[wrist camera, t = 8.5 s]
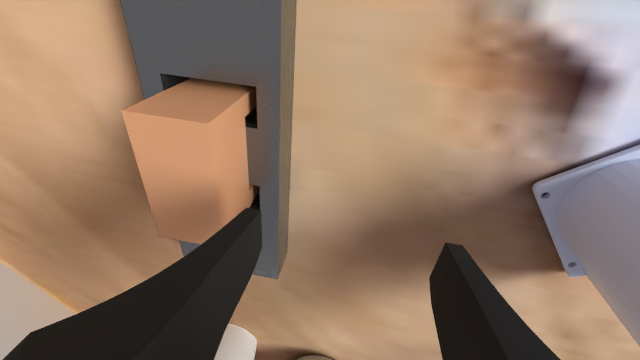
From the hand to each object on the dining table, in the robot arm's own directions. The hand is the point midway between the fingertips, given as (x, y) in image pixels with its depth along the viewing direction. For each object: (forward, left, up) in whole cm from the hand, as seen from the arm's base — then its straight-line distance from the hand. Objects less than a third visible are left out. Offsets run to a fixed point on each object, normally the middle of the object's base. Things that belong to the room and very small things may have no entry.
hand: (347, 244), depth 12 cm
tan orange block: (+5, +7, -9) cm, 13 cm away
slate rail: (+5, +7, -9) cm, 13 cm away
